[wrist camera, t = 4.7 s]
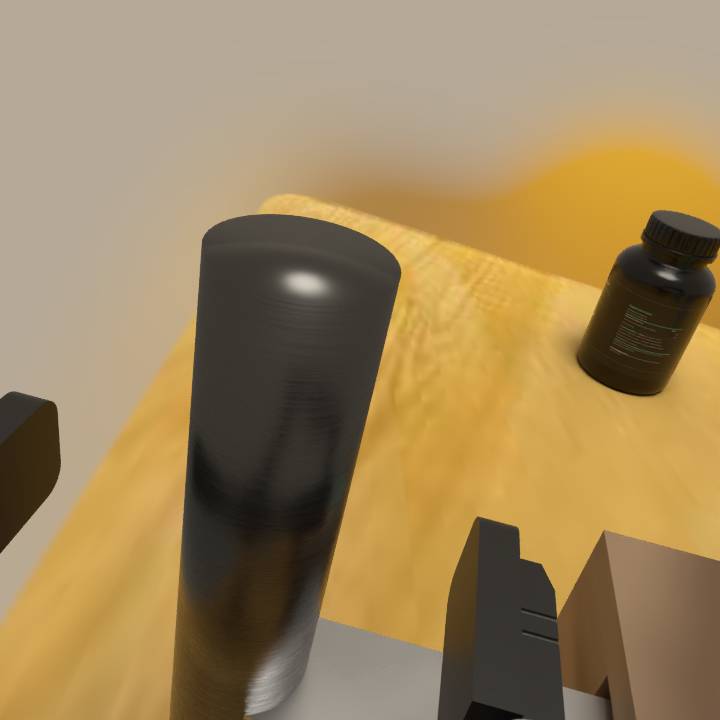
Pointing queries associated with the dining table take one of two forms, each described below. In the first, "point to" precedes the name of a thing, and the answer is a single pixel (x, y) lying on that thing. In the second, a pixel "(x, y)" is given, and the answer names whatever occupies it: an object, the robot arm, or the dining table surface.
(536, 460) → the dining table surface
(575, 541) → the dining table surface
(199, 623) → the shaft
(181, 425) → the dining table surface
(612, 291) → the supplement bottle
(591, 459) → the dining table surface
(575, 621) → the bearing block
